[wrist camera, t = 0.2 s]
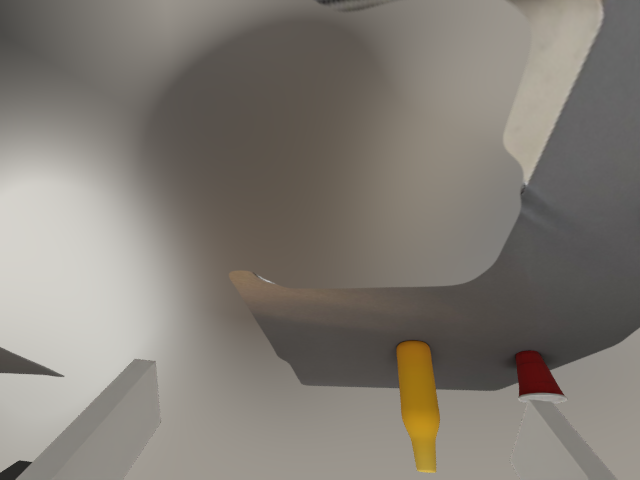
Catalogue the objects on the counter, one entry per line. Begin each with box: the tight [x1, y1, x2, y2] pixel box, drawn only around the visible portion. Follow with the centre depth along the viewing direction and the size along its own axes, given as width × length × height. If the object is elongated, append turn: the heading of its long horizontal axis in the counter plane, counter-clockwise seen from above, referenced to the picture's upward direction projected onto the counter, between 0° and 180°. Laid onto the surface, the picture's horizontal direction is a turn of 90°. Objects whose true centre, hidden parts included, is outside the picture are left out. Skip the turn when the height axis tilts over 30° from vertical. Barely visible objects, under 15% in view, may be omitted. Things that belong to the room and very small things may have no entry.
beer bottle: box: [397, 340, 440, 472], centre depth 81 cm, size 9×9×29 cm
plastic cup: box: [516, 351, 567, 404], centre depth 84 cm, size 11×11×12 cm
